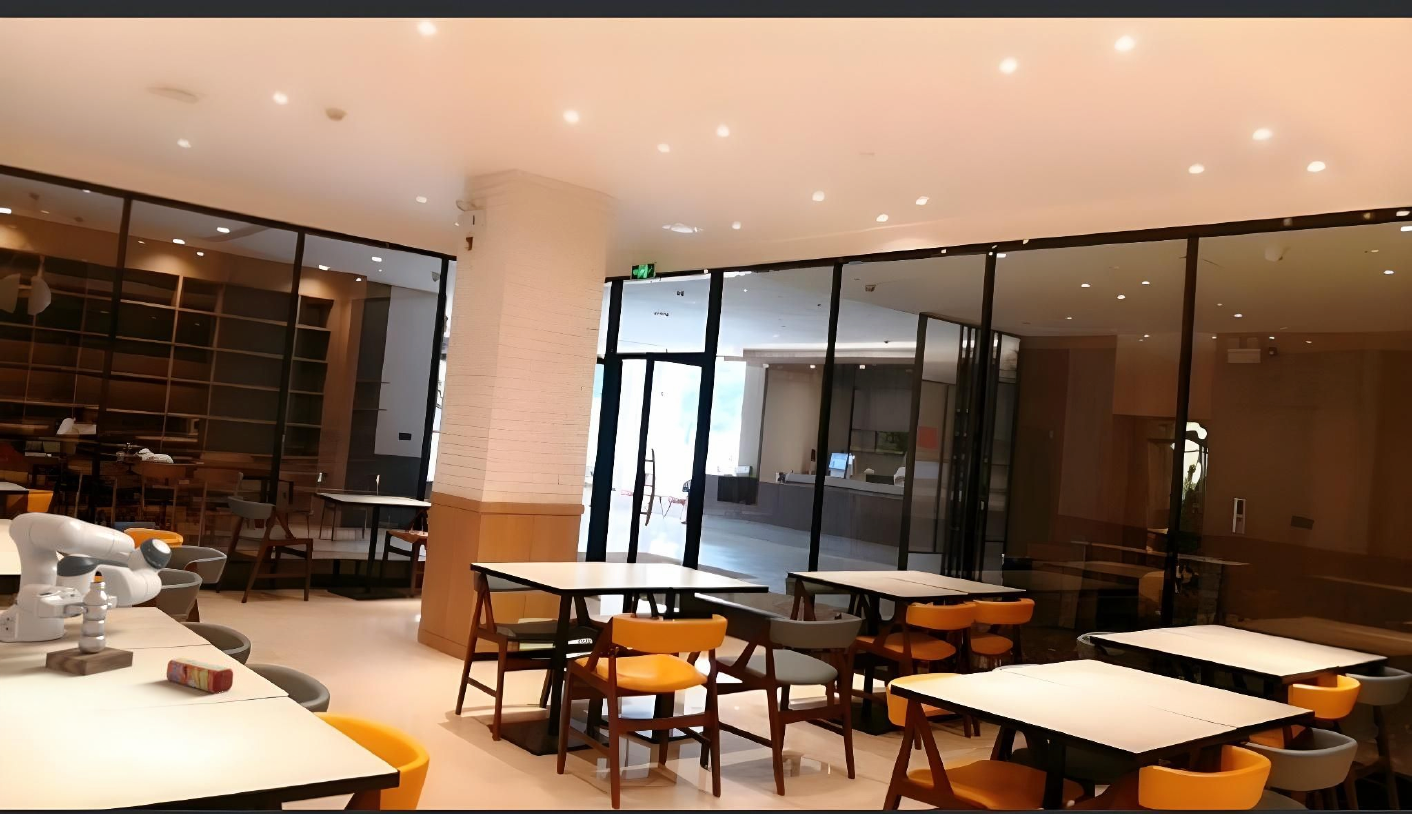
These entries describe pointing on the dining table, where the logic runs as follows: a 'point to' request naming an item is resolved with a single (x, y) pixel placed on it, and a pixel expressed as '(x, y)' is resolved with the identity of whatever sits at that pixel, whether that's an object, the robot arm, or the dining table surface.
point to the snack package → (200, 675)
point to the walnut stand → (88, 660)
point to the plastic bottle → (94, 619)
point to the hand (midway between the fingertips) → (97, 608)
